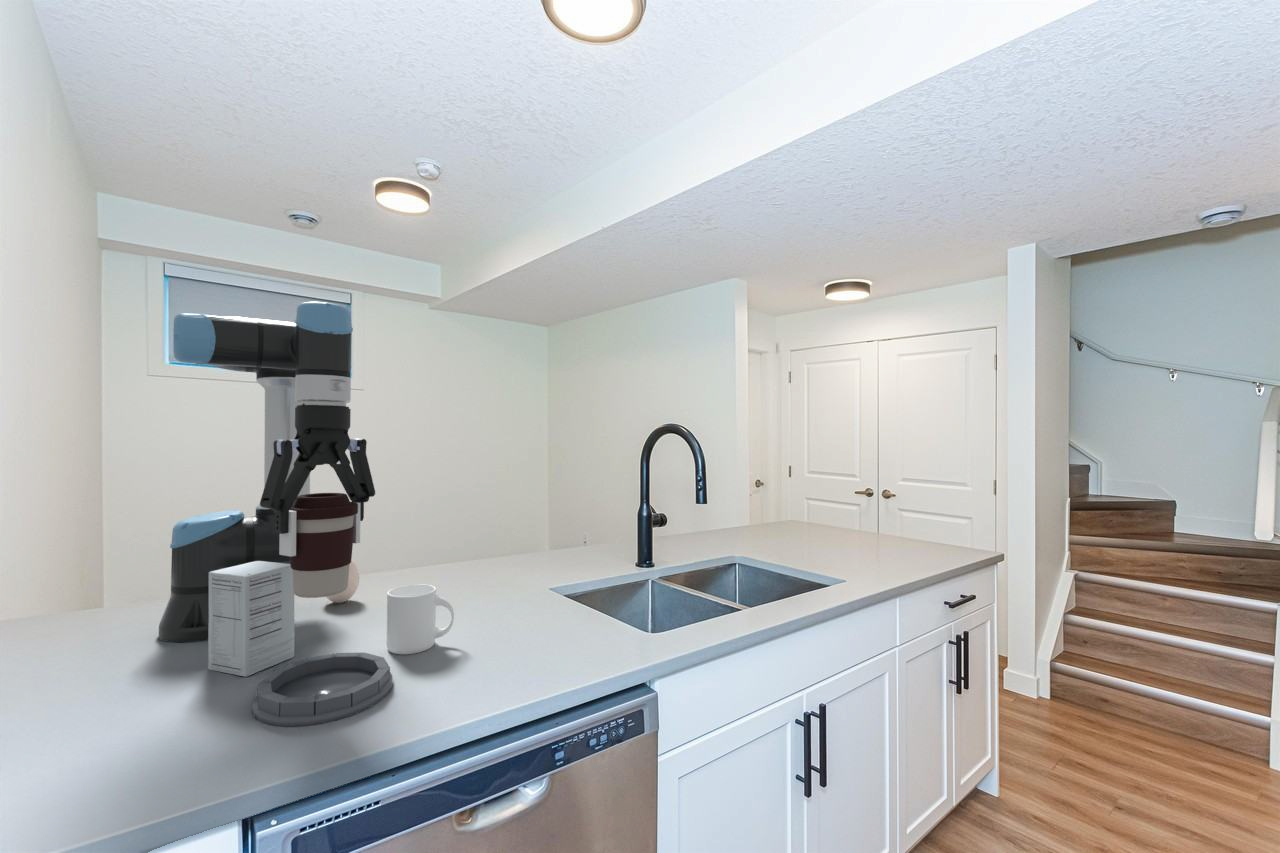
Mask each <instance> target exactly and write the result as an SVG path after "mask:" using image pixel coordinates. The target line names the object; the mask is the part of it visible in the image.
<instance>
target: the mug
mask: <svg viewBox="0 0 1280 853" xmlns="http://www.w3.org/2000/svg"><path fill="white" fill-rule="evenodd" d="M386 594H387V595H386V648H387V650H388V651H389V652H390V653H392V654H394V655H403V656H404V655H413V654H418V653H421V652H425V651H427V650H429V649H430V648H432V647H433V646H434V644H435V642H436V639H438V638H441V637H444V636H446V634H448V633H449V632H450V630H451V629H452V626H453V625H454V620H455V612H454V608H453V606H452V605H451V603H450V602H449V601H448V600H447V599H445V598H444V597H442V596H440V595H437V588H436V587H435V586H434V585H430V584H425V583H424V584H422V583H421V584H420V583H416V584H415V583H414V584H406V585H405V584H404V585H399V586H397V587H394V588H391V589H389V590H388V591H387V593H386ZM437 606H439V607H440V606H442V607H444V608H446V609H448V610H449V612H450V615H451V620H450V622H449V623H448V625H447V626H445V627H444V628H440V627H436V623H437V622H436V619H437V618H436V616H437V614H436V613H437V608H436V607H437Z"/></svg>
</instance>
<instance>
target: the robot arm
mask: <svg viewBox="0 0 1280 853" xmlns="http://www.w3.org/2000/svg"><path fill="white" fill-rule="evenodd" d="M295 318H296V319H295V320H294V321H284V320H272V319H262V318H253V317H251V318H250V317H245V316H244V317H242V316H219V315H209V314H206V313H199V312H198V313H184V312H181V313H177V314H176V315H175V316H174V318H173V332H172V334H173V336H172V337H173V338H172V339H173V340H172V341H173V344H172V346H173V348H172V349H173V351H172V352H173V358H174V359H175V361H178V362H181V363H186V364H187V363H188V364H195V365H204V366H205V365H206V366H212V367H214V368H218V369H222V370H228V371H234V372H243V373H244V372H245V373H255V375H256V383H258V384H259V386H261V387H262V388H263V389H264V453H263V454H264V456H263V458H264V469H263V470H264V471H263V472H264V474H263V475H264V477H263V478H264V480H263V481H264V485H263V488H264V489H263V490H262V495H261V498H260V502H259V504H257V506H255V515H254V516H245V514H244V512H243V511H242V510H238V509H235V510H223V511H221V510H220V511H215V512H210V513H209V512H208V513H205V514H201V515H200V514H199V515H195V516H191V517H188V518H185V519H184V518H183V519H182V520H180V521H178V522H177V523H175V525H174V526H173V528H172V530H171V531H172V532H171V543H170V545H169V548H170V549H171V561H170V562H171V566H170V567H171V569H170V570H171V571H170V572H171V573H170V595H169V596H170V597H169V600H168V602H167V604H166V607H165V608H164V612H163V614H162V617H161V620H160V621H159V624H158V639H159V640H160V641H163V642H169V643H170V642H171V643H189V642H199V641H205V640H208V626H209V572H211V571H215V570H219V569H224V568H228V567H233V566H237V565H241V564H245V563H249V562H254V561H266V562H275V563H285V564H290V557H292V556H296V512H297V511H291V510H290V509H291V507H292V506H293V504H294V502H295V500H296V498H297V497H298V496H300V495H305V494H311V472H312V471H314V470H315V469H316V467H317V466H323V465H329V466H330V467H331V468H332V469H333V470H334V472H335V473H336V475H337V478H338V480H339V481H340V483H341V485H342V487H343V489H344V491H345V494H346V495H347V496H348V498H349V501H350V502H354V503H357V504H358V513H357V514H355V515H354V517H353V526H354V535H353V544H361V522H362V521H363V520H364V518H365V517H364V516H365V515H364V514H365V509H364V508H365V503H368V502H369V501H370V498H371V497H374V496H375V495H376V489H375V484H374V482H373V477H372V476H373V475H372V472H371V470H370V469H371V468H370V465H369V464H370V463H369V459H368V456H367V443H368V442H367V439H365V438H350V436H349V433H348V432H349V429H351V415H352V414H351V413H352V412H351V408H350V406H347V404H349V403H350V402H351V400H352V399H351V398H352V397H351V396H352V395H351V392H352V391H351V388H352V387H351V385H352V384H351V383H352V382H351V381H352V379H351V378H352V377H351V375H352V374H351V369H352V368H351V367H352V366H351V364H352V332H353V326H352V312H351V311H350V309H349V308H347V307H346V306H344V305H340V304H337V303H336V304H335V303H330V302H323V301H322V302H321V301H307V302H306V301H305V302H301V303H299V304H298V306H297V308H296V317H295ZM347 450H348V452H349V457H348V455H347V453H346V451H347ZM350 461H351V462H350ZM350 465H351V466H352V467H351V466H350Z"/></svg>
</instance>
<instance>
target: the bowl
mask: <svg viewBox="0 0 1280 853" xmlns="http://www.w3.org/2000/svg"><path fill="white" fill-rule="evenodd" d="M390 668H391V667H390V665H389V663H388V661H387V660H386V659H385V657H383V656H379V655H377V654H376V655H375V654H372V653H368V652H336V653H330V654H325V655H324V654H323V655H317V656H314V657H308V658H304V659H300V660H298V661H295V662H293V663H290V664H288V665H285V666H282V667H280V668H277V669H275V670H273V671H272V672H270V674H268V675H267V676H266V677H264V678H263V679H262V680H260V681H259V682H258V683H257V694H256V695H255V696H254V698H253V700H252V707H251V711H252V715H253V717H254V718H255V719H257V721H258V722H261V723H263V724H267V725H270V726H277V727H285V728H286V727H292V728H293V727H307V726H315V725H321V724H326V723H330V722H335V721H338V720H341V719H345V718H348V717H351V716H353V715H356V714H359V713H361V712H363V711H366V710H368V709H370V708H371V707H373V706H375V705H376V704H378V703H379V702H381V701H382V700H384V699H385V698H386V697H387V696H388V694H390V692H391V691H392V689H393V674H392V672H391V669H390Z"/></svg>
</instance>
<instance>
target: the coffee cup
mask: <svg viewBox="0 0 1280 853" xmlns="http://www.w3.org/2000/svg"><path fill="white" fill-rule="evenodd" d="M290 510H291V511H297V512H296V556H292V557H290V566H291V568H292V571H293V586H294V596H297V597H298V598H304V599H306V598H307V599H315V598H316V599H317V598H324V597H325V598H327V597H326V596H331V595H335V594H338V593H341V592H343V591H345V590H346V589H347V586H348V576H349V564H350V563H351V559H353V558H352V557H353V547H354V543H353V535H354V526H353V517H354V515H355V514H357V513H358V504H357V503H354V502H352V501H351V500H350V498H349V496H348V495H347V493H344V492H343V493H342V492H317V493H316V492H315V493H310V494H305V495H300V496H298V497H297V498H296V500H295V502H294V504H293V506H292V507H291V509H290Z"/></svg>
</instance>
